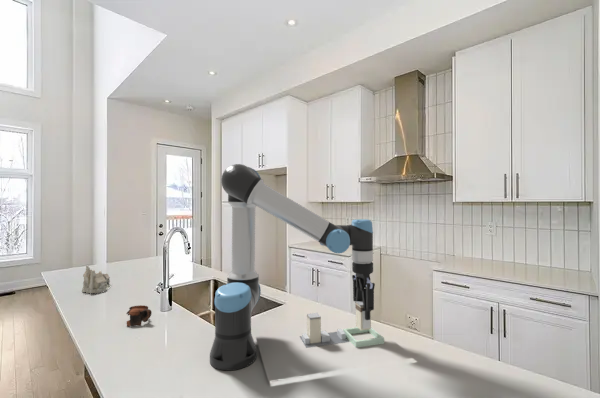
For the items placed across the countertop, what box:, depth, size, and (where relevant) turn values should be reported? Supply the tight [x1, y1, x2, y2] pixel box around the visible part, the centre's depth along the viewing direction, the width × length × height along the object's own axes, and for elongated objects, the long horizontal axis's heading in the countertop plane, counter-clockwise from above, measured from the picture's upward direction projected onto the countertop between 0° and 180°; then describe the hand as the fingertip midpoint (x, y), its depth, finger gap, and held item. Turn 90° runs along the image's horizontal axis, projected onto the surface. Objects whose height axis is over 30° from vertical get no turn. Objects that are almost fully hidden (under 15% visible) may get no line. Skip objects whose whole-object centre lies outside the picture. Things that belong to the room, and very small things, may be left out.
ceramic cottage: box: [81, 265, 112, 294], centre depth 181 cm, size 16×16×15 cm
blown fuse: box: [354, 301, 372, 330], centre depth 113 cm, size 4×4×9 cm
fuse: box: [306, 312, 322, 343], centre depth 112 cm, size 4×4×9 cm
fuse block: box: [299, 328, 350, 349], centre depth 113 cm, size 16×9×3 cm, turn 105°
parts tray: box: [342, 326, 385, 348], centre depth 113 cm, size 11×11×3 cm
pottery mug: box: [126, 305, 152, 327], centre depth 133 cm, size 12×10×8 cm
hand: (363, 325), depth 113 cm, fingers closed on blown fuse, 4 cm apart
